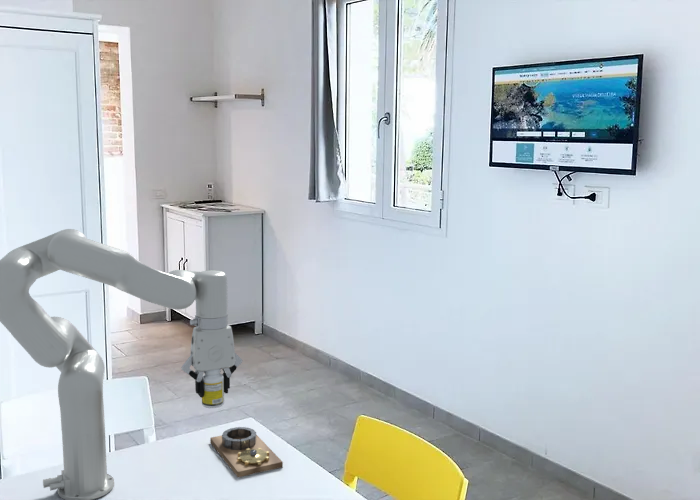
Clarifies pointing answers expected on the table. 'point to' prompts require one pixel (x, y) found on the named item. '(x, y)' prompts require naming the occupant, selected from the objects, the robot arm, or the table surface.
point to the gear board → (240, 468)
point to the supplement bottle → (213, 389)
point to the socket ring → (239, 444)
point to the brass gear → (253, 456)
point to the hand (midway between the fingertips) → (212, 392)
